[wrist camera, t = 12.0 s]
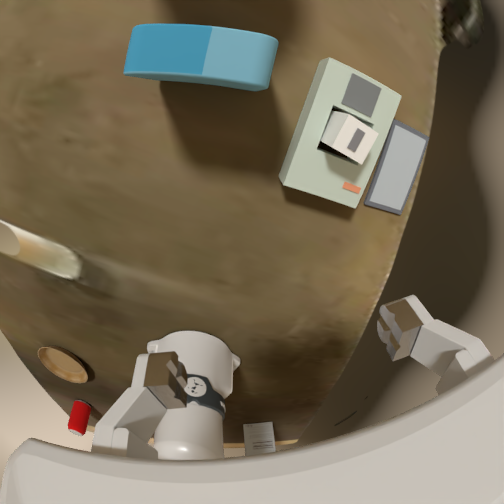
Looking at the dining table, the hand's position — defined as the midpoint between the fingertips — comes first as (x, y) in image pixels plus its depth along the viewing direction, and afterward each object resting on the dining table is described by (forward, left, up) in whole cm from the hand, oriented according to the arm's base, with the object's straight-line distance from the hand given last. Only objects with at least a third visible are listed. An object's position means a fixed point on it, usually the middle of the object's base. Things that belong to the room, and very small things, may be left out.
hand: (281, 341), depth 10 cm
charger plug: (+8, -9, -27) cm, 29 cm away
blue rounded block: (+10, +8, -27) cm, 30 cm away
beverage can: (-82, +32, -27) cm, 91 cm away
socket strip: (+7, -9, -27) cm, 29 cm away
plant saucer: (-55, +32, -27) cm, 69 cm away
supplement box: (-76, -26, -27) cm, 84 cm away
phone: (+6, -20, -27) cm, 35 cm away
